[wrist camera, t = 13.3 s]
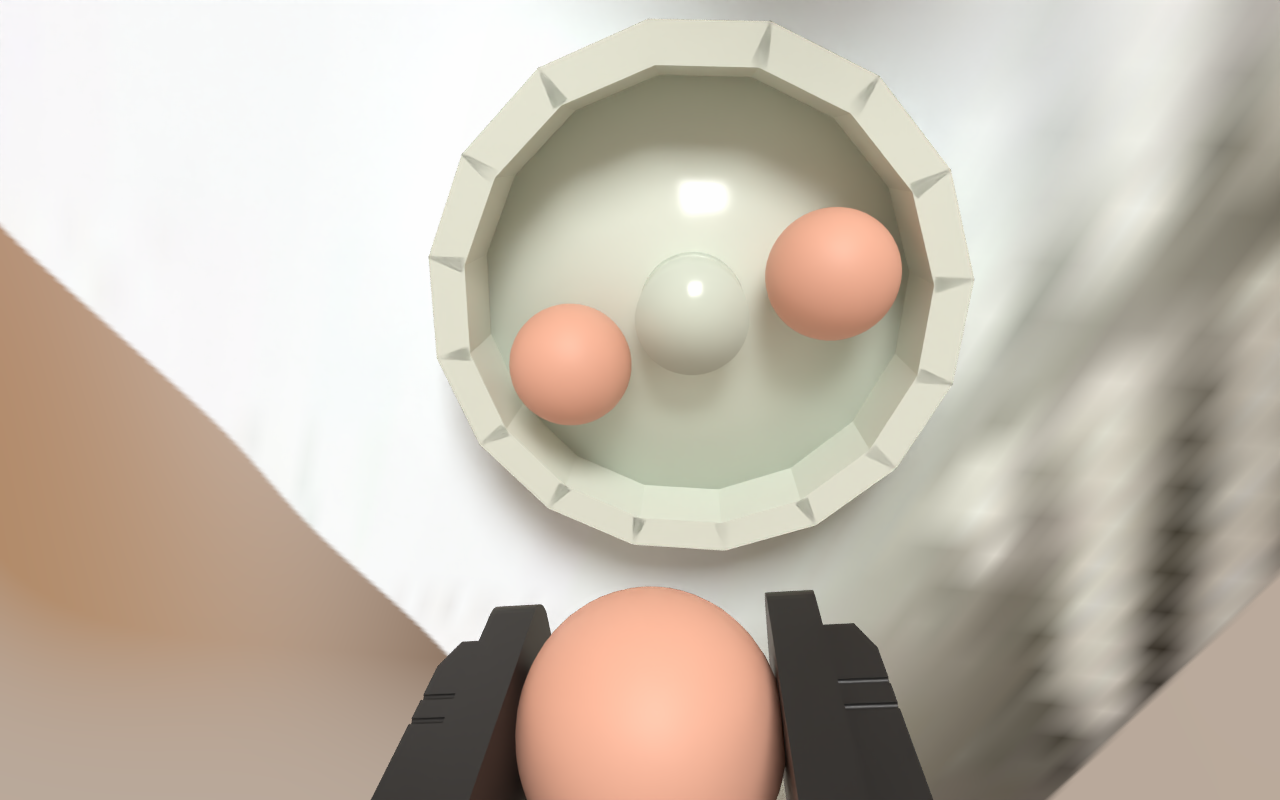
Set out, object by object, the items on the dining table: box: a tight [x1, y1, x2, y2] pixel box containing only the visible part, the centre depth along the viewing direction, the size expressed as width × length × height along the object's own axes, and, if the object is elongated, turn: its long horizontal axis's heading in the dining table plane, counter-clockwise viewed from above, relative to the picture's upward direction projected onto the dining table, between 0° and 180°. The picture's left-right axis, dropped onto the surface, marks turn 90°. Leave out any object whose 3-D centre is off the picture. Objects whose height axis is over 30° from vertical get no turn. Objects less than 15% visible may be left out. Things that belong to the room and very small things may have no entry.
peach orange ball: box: [515, 587, 785, 800], centre depth 9 cm, size 4×4×4 cm
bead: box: [509, 304, 631, 425], centre depth 20 cm, size 4×4×4 cm
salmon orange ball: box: [765, 207, 902, 341], centre depth 18 cm, size 4×4×4 cm
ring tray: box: [429, 19, 974, 551], centre depth 20 cm, size 15×15×3 cm
